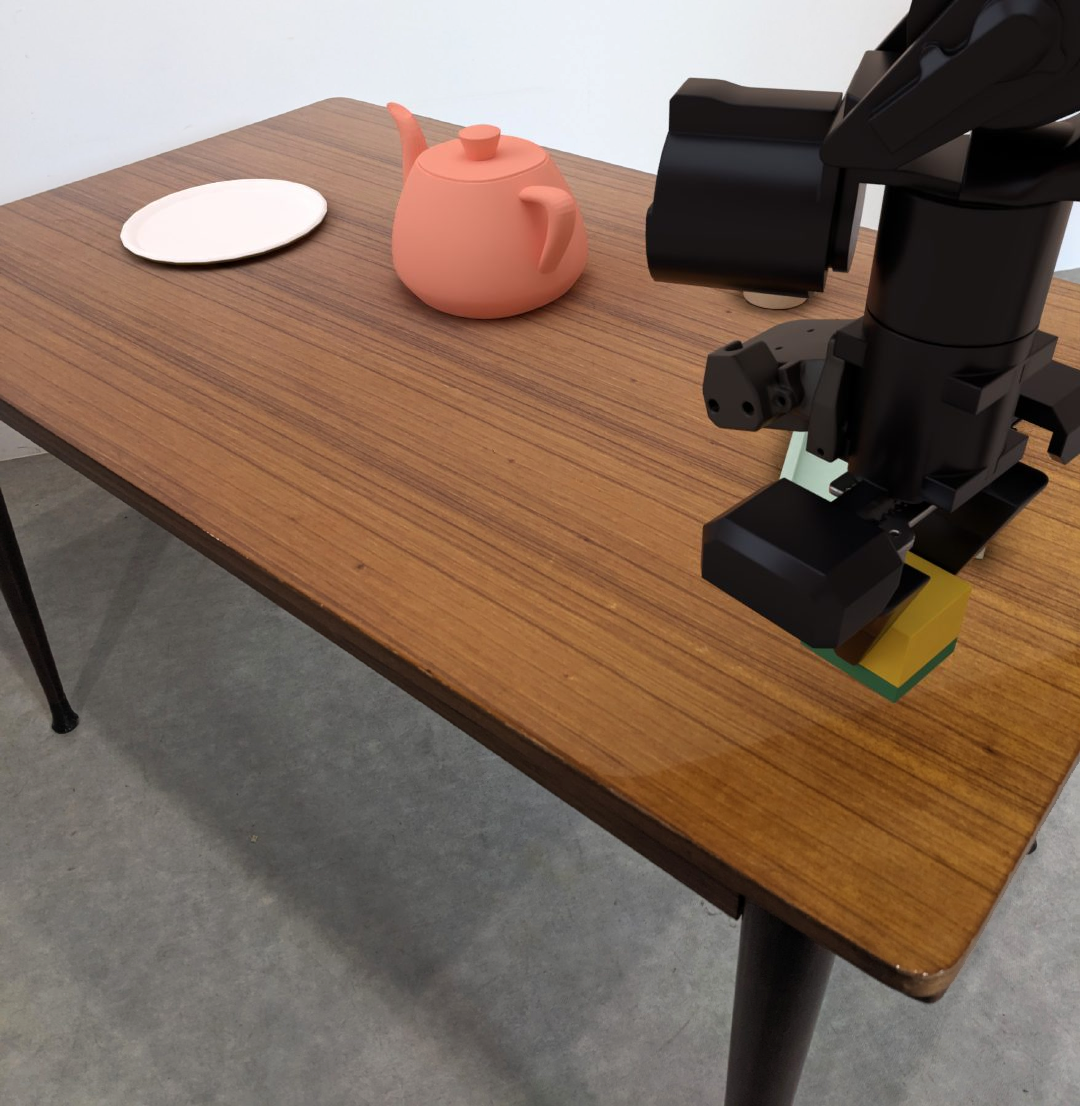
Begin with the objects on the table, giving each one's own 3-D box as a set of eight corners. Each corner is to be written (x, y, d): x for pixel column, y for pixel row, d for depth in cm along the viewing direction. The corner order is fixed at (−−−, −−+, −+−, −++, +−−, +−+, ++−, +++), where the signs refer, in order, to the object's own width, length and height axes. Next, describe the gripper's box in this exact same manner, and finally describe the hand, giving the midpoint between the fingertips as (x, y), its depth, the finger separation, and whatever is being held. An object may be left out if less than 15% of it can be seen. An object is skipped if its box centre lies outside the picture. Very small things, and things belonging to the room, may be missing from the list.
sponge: (954, 652, 46) (973, 585, 44) (894, 705, 44) (910, 637, 42) (860, 597, 49) (873, 531, 47) (799, 644, 47) (809, 578, 45)
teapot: (336, 264, 99) (309, 118, 91) (478, 213, 107) (465, 74, 98) (496, 359, 84) (481, 194, 75) (649, 291, 92) (651, 135, 83)
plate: (84, 237, 108) (80, 226, 107) (250, 175, 119) (248, 163, 118) (198, 292, 96) (195, 279, 96) (370, 217, 108) (368, 205, 107)
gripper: (908, 174, 45) (856, 468, 55) (593, 325, 37) (600, 642, 47) (1169, 247, 39) (1056, 566, 49) (862, 454, 30) (802, 792, 40)
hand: (880, 631), depth 46 cm, fingers closed on sponge, 4 cm apart
